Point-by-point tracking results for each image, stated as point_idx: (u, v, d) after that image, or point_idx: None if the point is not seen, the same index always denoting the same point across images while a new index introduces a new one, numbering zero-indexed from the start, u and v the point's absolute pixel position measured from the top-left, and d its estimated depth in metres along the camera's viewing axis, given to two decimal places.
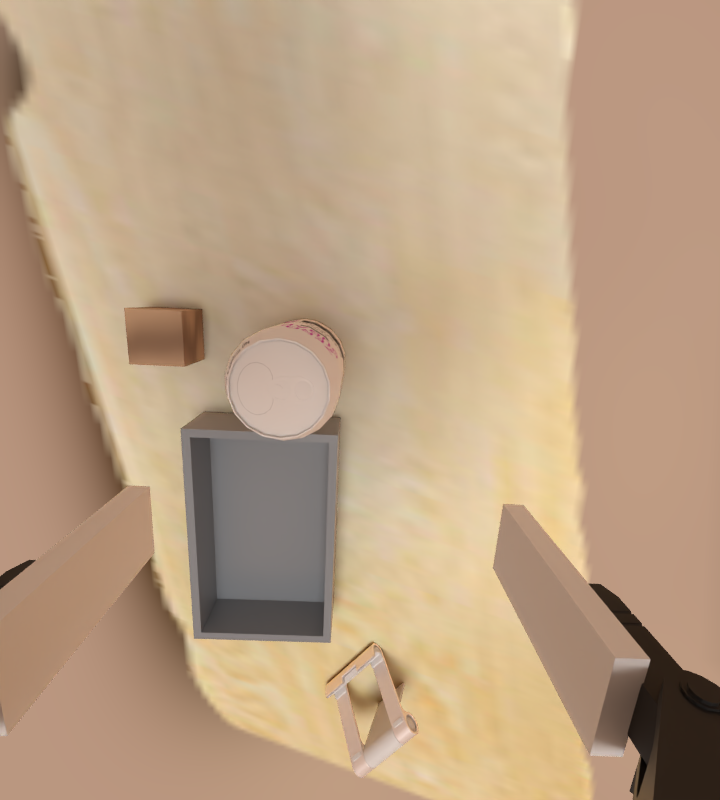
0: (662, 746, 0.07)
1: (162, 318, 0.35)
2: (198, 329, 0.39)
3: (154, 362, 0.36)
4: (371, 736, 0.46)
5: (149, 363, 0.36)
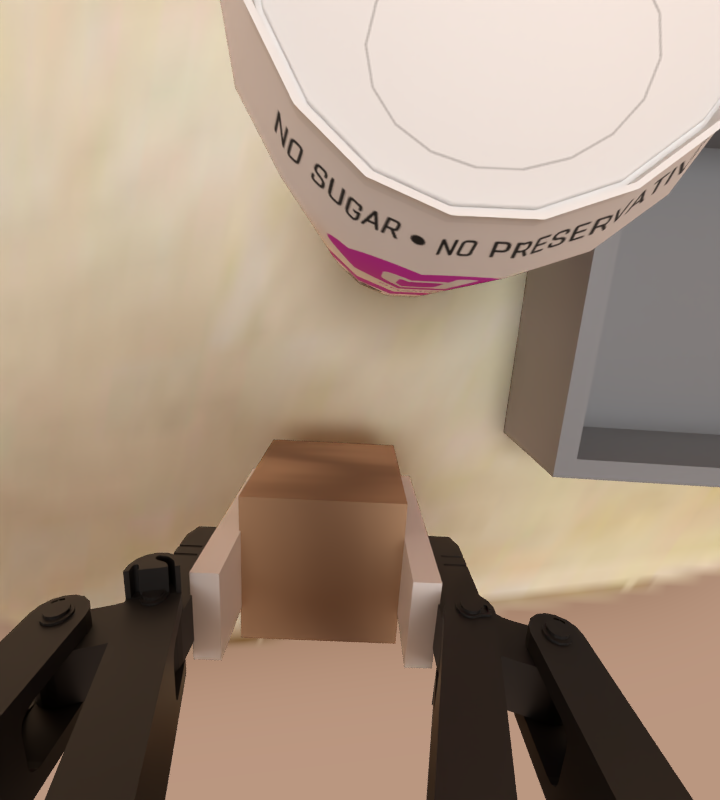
0: (444, 661, 0.08)
1: (264, 549, 0.12)
2: (315, 453, 0.15)
3: (392, 583, 0.12)
4: None
5: (395, 595, 0.13)
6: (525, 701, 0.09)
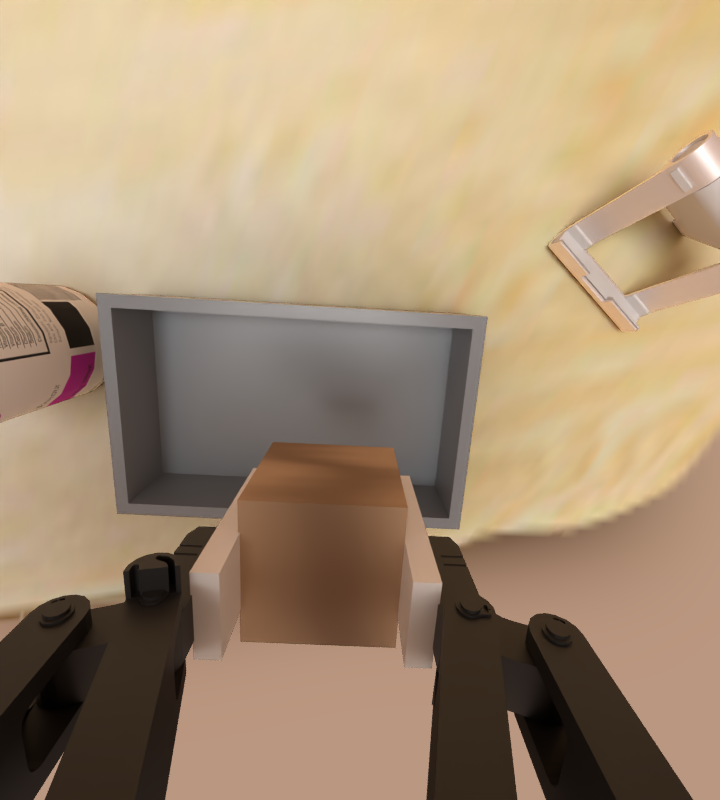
0: (444, 661, 0.08)
1: (263, 553, 0.12)
2: (315, 455, 0.15)
3: (392, 586, 0.12)
4: (718, 242, 0.24)
5: (395, 599, 0.12)
6: (525, 701, 0.09)
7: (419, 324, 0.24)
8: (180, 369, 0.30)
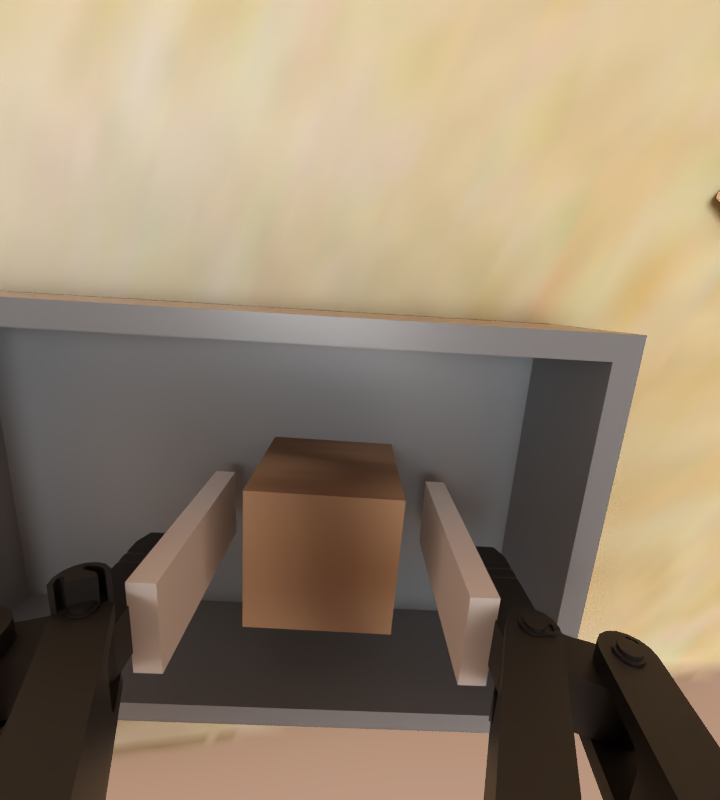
0: (506, 677, 0.08)
1: (266, 542, 0.13)
2: (316, 450, 0.16)
3: (389, 576, 0.13)
4: None
5: (391, 588, 0.13)
6: (597, 724, 0.09)
7: (497, 352, 0.11)
8: (45, 423, 0.17)
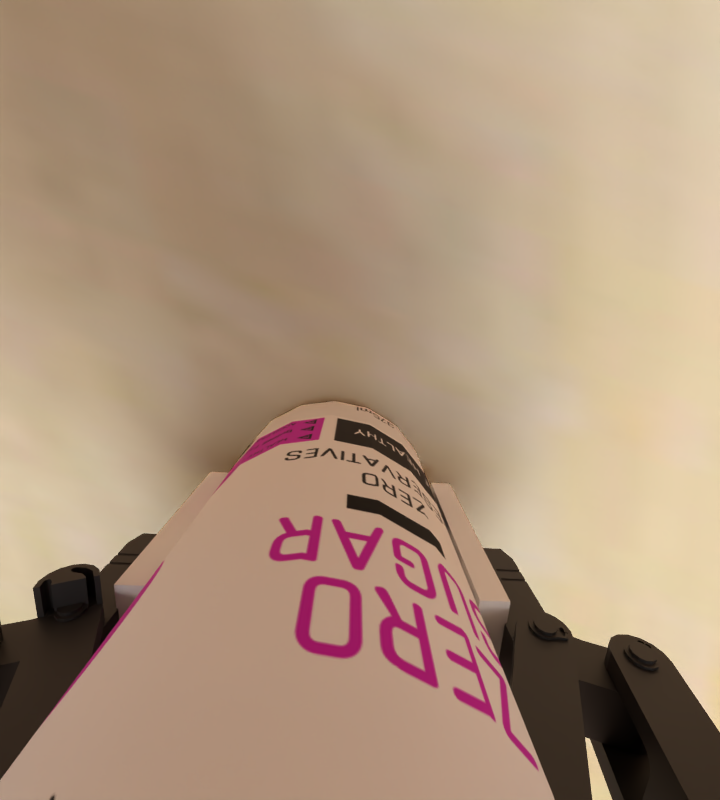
0: (516, 680, 0.08)
1: None
2: None
3: None
4: None
5: None
6: (609, 729, 0.08)
7: None
8: None
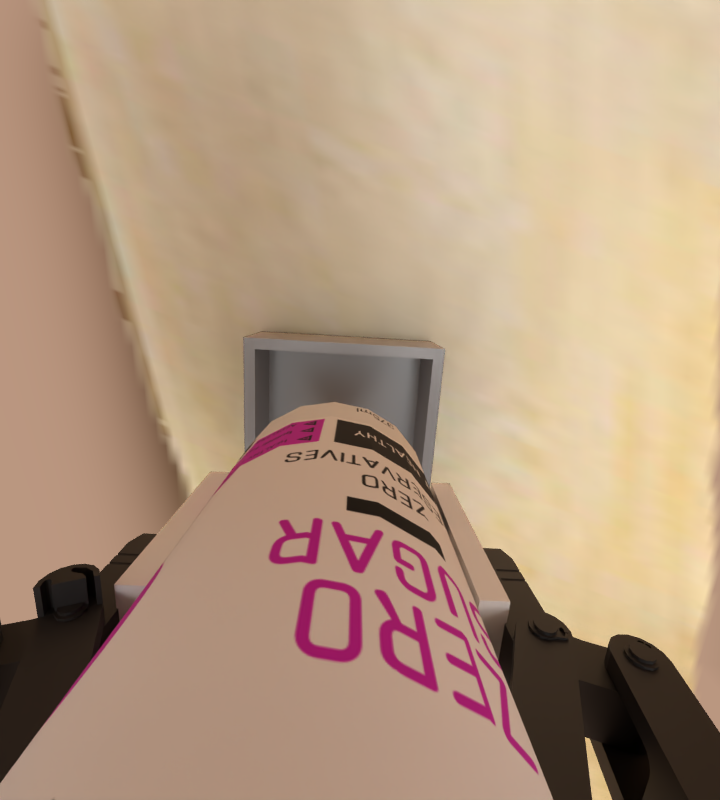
0: (516, 680, 0.08)
1: None
2: None
3: None
4: None
5: None
6: (609, 729, 0.08)
7: None
8: (368, 369, 0.34)
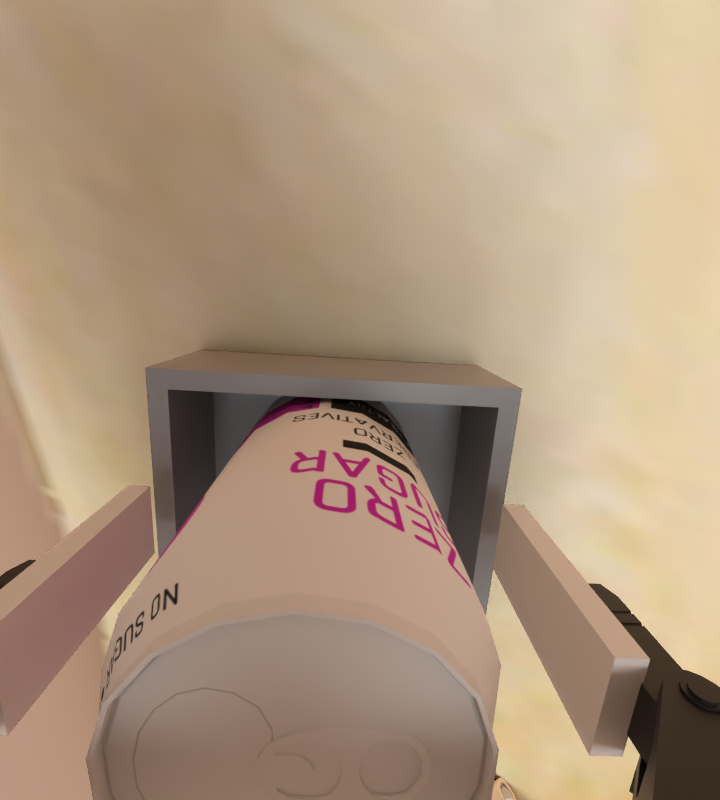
0: (662, 746, 0.07)
1: None
2: None
3: None
4: None
5: None
6: None
7: None
8: None
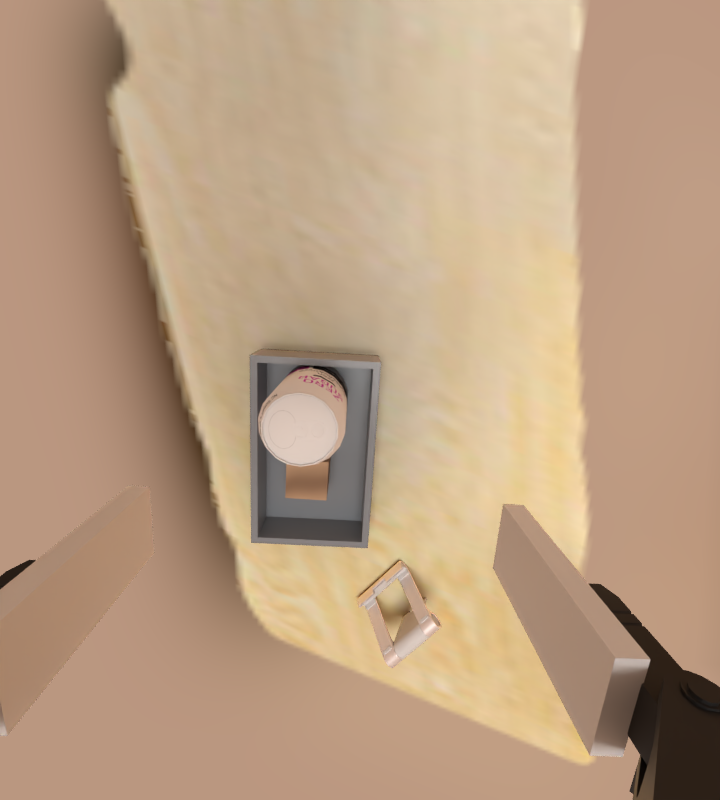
0: (662, 746, 0.07)
1: (313, 467, 0.47)
2: None
3: (304, 497, 0.48)
4: (399, 635, 0.54)
5: (300, 497, 0.48)
6: None
7: (364, 518, 0.49)
8: None
